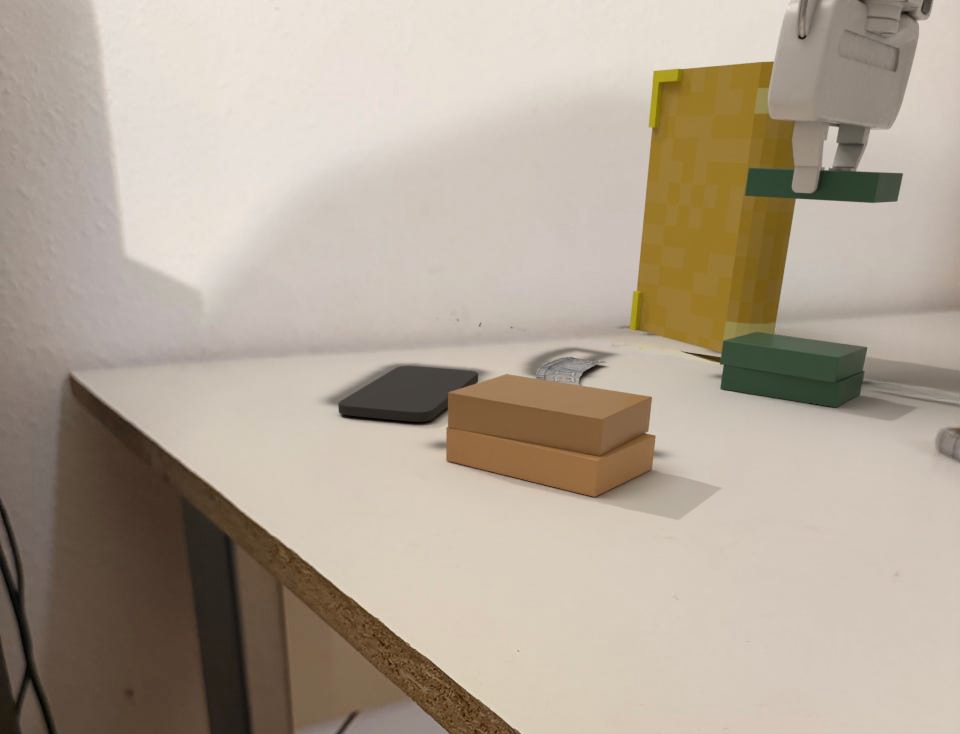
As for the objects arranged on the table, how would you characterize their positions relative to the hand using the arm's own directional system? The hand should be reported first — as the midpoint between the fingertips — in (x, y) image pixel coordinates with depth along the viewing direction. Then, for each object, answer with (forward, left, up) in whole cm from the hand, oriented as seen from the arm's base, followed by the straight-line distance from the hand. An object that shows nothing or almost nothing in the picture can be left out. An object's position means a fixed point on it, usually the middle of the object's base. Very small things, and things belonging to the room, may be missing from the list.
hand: (822, 192), depth 74 cm
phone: (+22, +24, -16) cm, 36 cm away
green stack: (0, 0, -16) cm, 16 cm away
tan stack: (+4, +32, -16) cm, 36 cm away
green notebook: (0, 0, 0) cm, 0 cm away
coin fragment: (+18, +7, -16) cm, 25 cm away
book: (+14, -13, -16) cm, 25 cm away
